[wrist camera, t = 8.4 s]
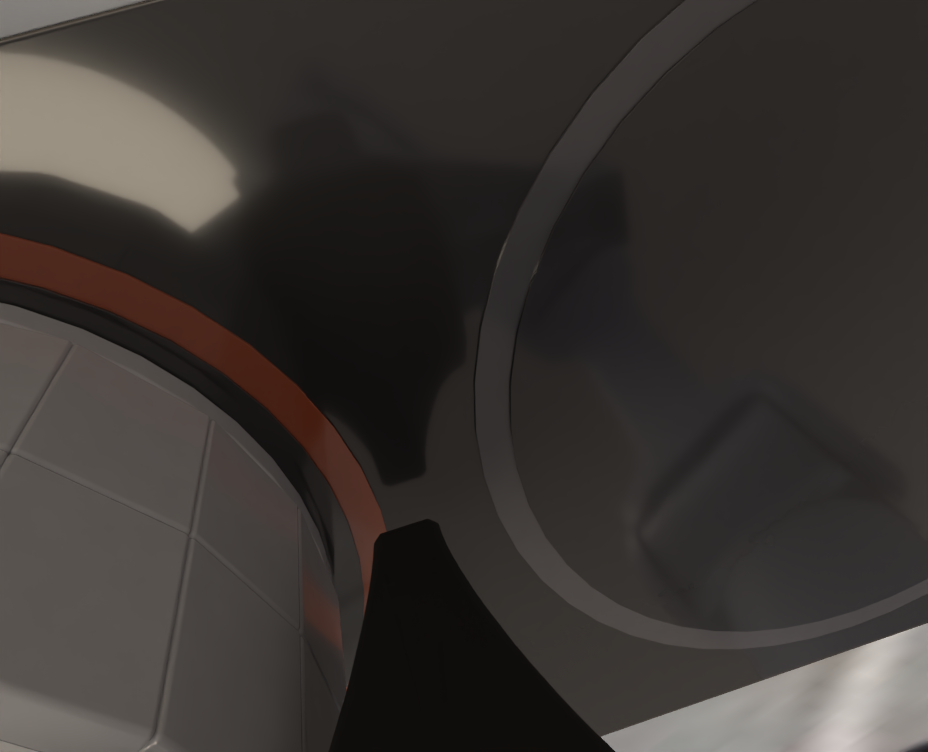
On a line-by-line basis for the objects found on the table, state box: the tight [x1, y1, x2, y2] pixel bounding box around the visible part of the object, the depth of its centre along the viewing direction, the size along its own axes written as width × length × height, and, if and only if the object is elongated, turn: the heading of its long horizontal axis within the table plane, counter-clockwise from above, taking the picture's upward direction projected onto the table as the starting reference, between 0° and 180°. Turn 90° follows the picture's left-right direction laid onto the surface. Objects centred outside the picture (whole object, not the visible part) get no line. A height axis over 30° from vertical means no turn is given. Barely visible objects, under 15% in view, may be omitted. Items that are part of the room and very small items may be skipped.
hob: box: [0, 0, 928, 737], centre depth 11 cm, size 14×28×1 cm, turn 103°
